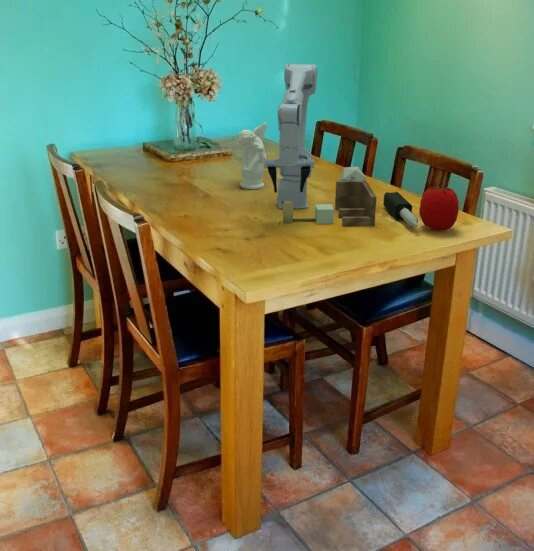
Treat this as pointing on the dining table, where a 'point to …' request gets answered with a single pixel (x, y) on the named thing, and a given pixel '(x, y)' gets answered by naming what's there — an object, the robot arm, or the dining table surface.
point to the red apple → (439, 208)
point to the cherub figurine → (252, 157)
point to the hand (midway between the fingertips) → (288, 191)
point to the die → (352, 174)
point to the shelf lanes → (355, 203)
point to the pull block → (322, 216)
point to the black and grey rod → (399, 208)
